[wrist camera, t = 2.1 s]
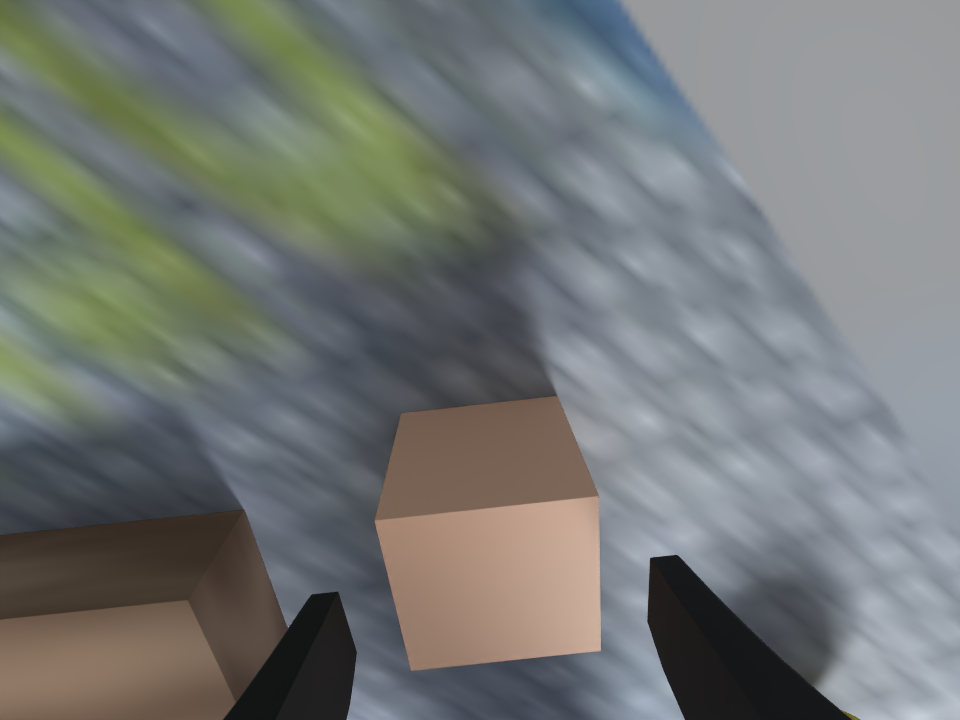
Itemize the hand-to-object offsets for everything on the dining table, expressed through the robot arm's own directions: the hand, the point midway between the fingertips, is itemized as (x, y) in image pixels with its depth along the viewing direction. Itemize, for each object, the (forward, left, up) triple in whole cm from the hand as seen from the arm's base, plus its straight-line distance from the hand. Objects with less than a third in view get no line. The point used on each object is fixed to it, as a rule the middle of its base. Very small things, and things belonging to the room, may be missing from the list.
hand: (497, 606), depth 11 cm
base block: (-6, +14, -6) cm, 16 cm away
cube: (0, 0, -6) cm, 6 cm away
